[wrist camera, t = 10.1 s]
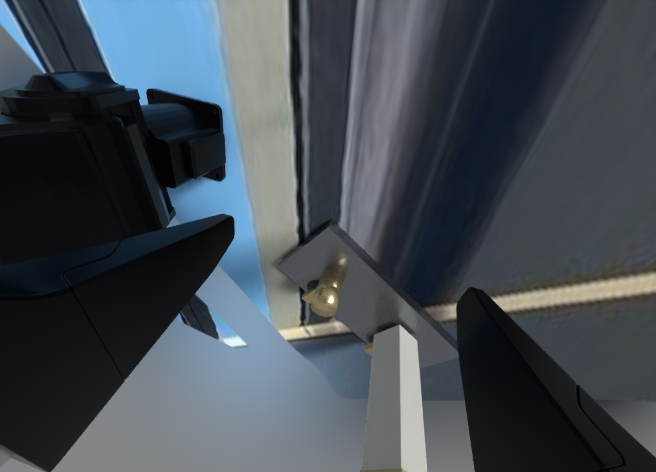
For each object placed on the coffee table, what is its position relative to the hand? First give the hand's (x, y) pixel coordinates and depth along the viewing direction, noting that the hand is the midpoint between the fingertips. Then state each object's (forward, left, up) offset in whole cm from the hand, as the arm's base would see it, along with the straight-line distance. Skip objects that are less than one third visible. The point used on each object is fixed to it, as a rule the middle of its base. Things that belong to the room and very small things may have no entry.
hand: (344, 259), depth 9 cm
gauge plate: (+4, -15, -13) cm, 21 cm away
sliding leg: (+7, -18, -11) cm, 23 cm away
